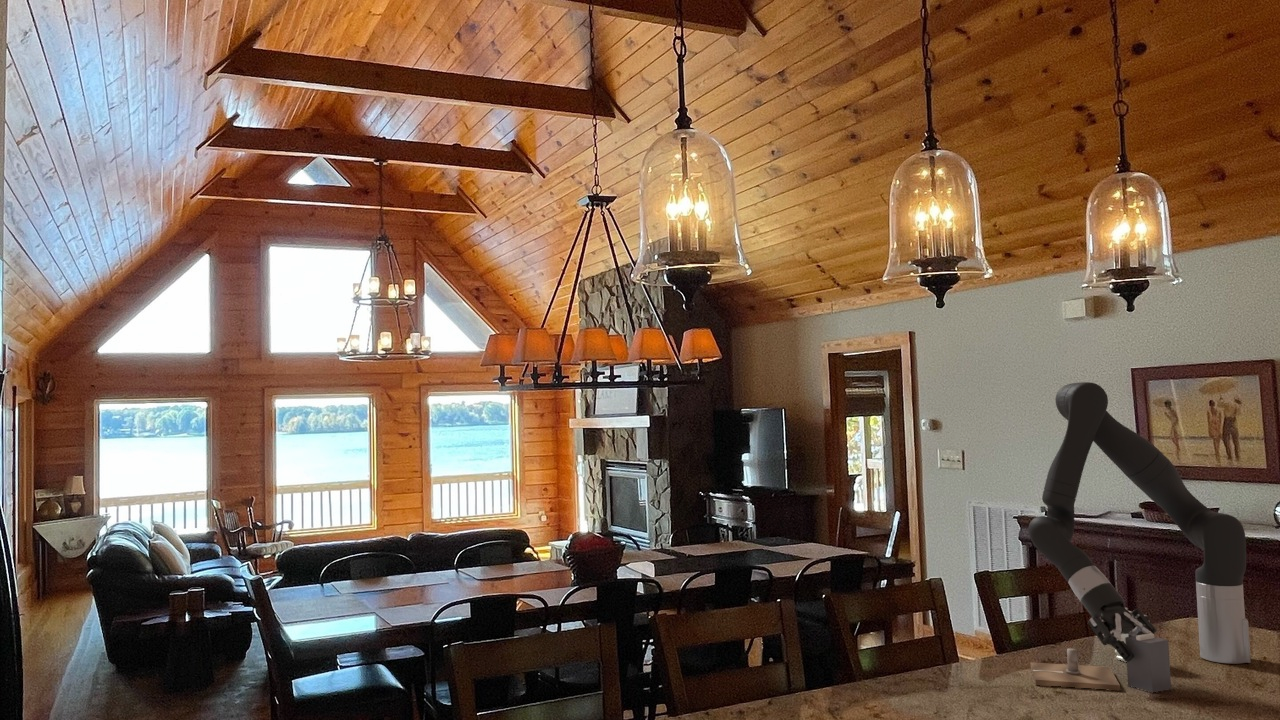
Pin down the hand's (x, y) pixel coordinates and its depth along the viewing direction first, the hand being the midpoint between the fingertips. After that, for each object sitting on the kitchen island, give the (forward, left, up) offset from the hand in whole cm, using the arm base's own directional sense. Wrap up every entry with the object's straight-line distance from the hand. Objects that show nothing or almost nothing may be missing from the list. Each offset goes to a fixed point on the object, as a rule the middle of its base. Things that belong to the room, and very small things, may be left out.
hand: (1145, 657), depth 192 cm
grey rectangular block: (0, 0, -6) cm, 6 cm away
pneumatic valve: (+1, -21, -6) cm, 22 cm away
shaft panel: (+14, -3, -6) cm, 15 cm away
